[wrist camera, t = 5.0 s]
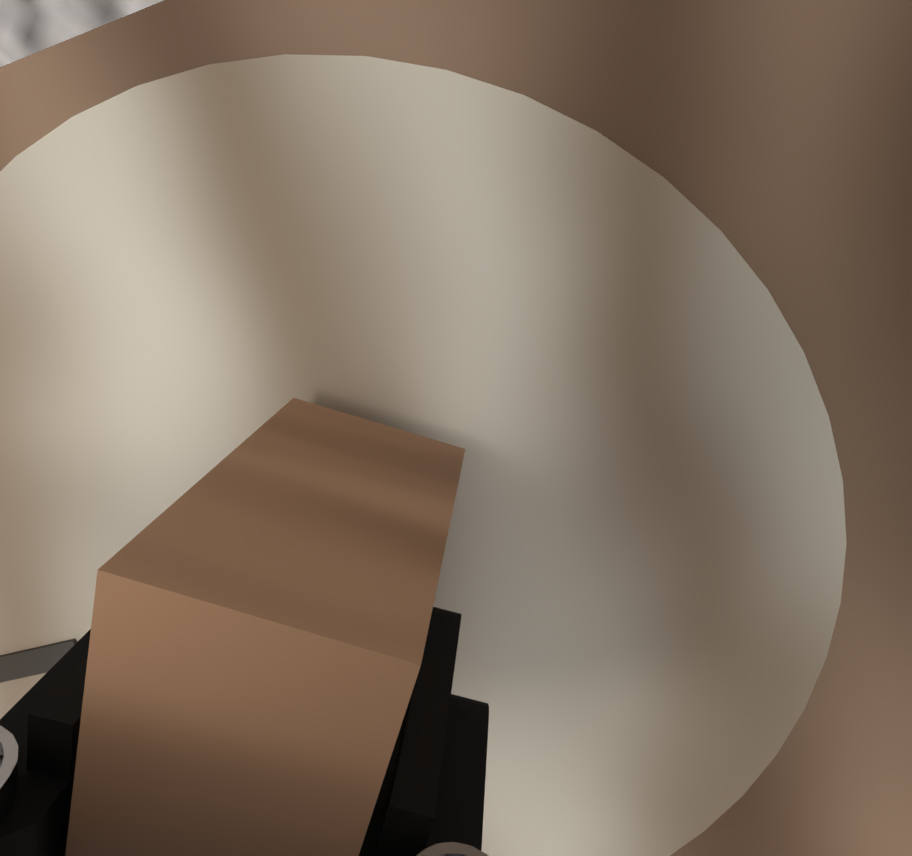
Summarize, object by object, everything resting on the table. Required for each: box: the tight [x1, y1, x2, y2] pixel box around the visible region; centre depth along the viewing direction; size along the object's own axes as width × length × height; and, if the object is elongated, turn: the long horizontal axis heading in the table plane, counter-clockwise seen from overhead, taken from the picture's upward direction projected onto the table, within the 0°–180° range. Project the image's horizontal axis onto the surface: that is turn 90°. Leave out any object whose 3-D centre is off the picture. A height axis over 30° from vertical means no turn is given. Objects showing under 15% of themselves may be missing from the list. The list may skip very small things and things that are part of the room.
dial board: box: [0, 0, 912, 856], centre depth 14 cm, size 24×21×2 cm
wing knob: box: [65, 398, 465, 856], centre depth 11 cm, size 12×4×6 cm, turn 164°
